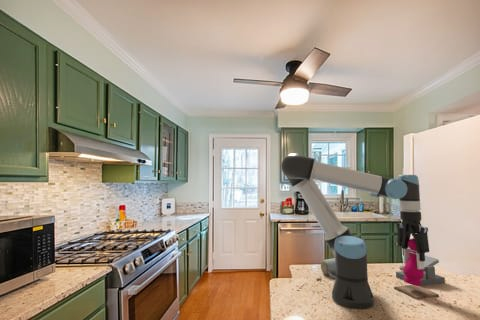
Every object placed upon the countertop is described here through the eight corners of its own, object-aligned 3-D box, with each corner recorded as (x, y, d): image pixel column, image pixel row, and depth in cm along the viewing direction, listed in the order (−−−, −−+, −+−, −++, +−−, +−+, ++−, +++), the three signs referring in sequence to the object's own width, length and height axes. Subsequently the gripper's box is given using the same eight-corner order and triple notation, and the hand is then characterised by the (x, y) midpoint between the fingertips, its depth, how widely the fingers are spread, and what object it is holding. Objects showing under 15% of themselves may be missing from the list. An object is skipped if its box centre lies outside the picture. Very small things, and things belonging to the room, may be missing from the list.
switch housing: (418, 286, 116) (417, 268, 117) (395, 276, 128) (394, 260, 129) (445, 283, 119) (444, 265, 120) (421, 274, 132) (419, 258, 132)
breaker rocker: (417, 278, 118) (414, 270, 118) (400, 271, 127) (397, 264, 127) (440, 264, 122) (437, 256, 122) (422, 258, 131) (419, 251, 131)
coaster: (416, 299, 103) (416, 297, 103) (394, 288, 114) (394, 286, 114) (438, 296, 106) (438, 294, 106) (415, 286, 117) (414, 284, 117)
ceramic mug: (319, 272, 135) (319, 257, 136) (334, 271, 137) (333, 256, 138) (331, 280, 125) (330, 263, 126) (346, 278, 127) (346, 262, 127)
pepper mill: (426, 288, 106) (431, 238, 109) (408, 284, 107) (414, 234, 109) (415, 282, 113) (420, 235, 116) (398, 278, 114) (403, 232, 116)
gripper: (438, 212, 105) (442, 273, 103) (399, 208, 123) (403, 259, 121) (422, 213, 103) (427, 274, 101) (386, 209, 121) (389, 260, 119)
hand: (414, 266), depth 111 cm, fingers closed on pepper mill, 6 cm apart
